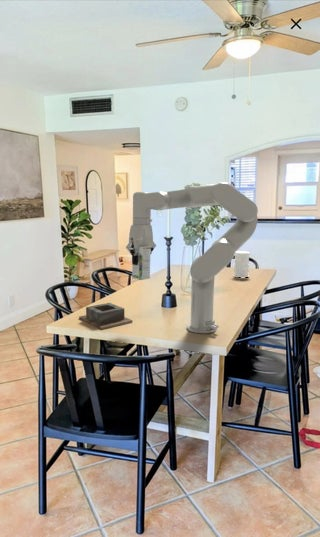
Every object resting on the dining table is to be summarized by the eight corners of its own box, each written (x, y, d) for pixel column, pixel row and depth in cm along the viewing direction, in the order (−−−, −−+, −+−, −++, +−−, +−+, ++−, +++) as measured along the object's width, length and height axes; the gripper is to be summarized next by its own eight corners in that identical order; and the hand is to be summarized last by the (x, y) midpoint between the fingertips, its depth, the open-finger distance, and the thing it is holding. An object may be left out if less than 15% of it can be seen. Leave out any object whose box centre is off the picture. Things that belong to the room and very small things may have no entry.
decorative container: (239, 274, 289) (240, 250, 286) (252, 277, 280) (253, 252, 277) (229, 276, 282) (230, 252, 278) (242, 279, 273) (243, 253, 270)
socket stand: (132, 322, 176) (132, 309, 175) (101, 329, 166) (101, 316, 165) (108, 312, 191) (108, 300, 190) (79, 318, 181) (78, 306, 180)
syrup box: (131, 278, 168) (131, 245, 166) (141, 276, 172) (142, 244, 170) (140, 280, 164) (140, 246, 162) (150, 278, 168) (151, 245, 166)
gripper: (151, 220, 172) (151, 261, 175) (119, 221, 161) (119, 264, 164) (162, 221, 166) (162, 263, 170) (130, 222, 155) (130, 267, 159)
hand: (141, 263), depth 167 cm, fingers closed on syrup box, 6 cm apart
